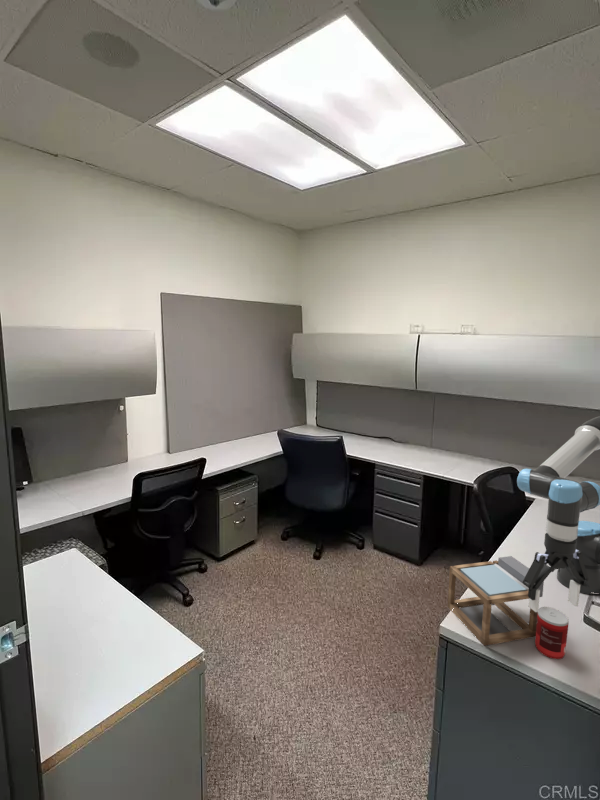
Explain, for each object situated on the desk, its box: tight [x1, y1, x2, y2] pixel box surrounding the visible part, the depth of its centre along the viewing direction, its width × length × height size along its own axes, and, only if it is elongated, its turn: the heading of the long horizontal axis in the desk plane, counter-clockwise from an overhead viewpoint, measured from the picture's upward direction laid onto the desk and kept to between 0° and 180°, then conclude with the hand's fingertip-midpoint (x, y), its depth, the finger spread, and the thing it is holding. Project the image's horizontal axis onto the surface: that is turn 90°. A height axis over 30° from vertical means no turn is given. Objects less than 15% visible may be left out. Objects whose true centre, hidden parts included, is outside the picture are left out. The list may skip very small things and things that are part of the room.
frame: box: [447, 560, 540, 646], centre depth 133 cm, size 18×19×14 cm
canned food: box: [534, 606, 570, 660], centre depth 121 cm, size 8×8×11 cm
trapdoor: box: [460, 555, 545, 598], centre depth 133 cm, size 19×15×6 cm
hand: (553, 606), depth 120 cm, fingers open, 13 cm apart
